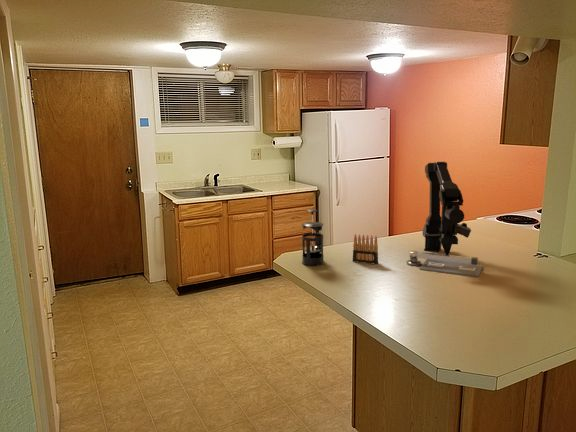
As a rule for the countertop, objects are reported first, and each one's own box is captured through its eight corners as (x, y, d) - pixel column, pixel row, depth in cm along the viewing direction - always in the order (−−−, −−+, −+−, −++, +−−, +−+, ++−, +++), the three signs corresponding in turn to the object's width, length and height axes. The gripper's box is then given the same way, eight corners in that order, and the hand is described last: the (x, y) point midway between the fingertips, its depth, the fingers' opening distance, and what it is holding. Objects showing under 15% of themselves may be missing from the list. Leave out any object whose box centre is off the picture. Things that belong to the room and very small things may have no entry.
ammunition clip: (352, 261, 200) (352, 234, 198) (353, 260, 202) (353, 233, 200) (377, 264, 196) (377, 236, 193) (378, 262, 198) (378, 235, 195)
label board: (419, 269, 188) (419, 267, 187) (427, 260, 200) (427, 258, 199) (478, 277, 177) (478, 275, 177) (482, 266, 190) (482, 264, 189)
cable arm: (408, 257, 194) (408, 252, 194) (410, 255, 197) (410, 250, 197) (476, 265, 182) (476, 259, 182) (477, 262, 185) (477, 257, 185)
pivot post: (404, 264, 194) (404, 258, 194) (408, 260, 199) (408, 254, 199) (419, 266, 191) (419, 260, 191) (422, 262, 197) (422, 256, 196)
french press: (317, 267, 193) (317, 213, 188) (297, 264, 198) (296, 211, 193) (329, 259, 203) (328, 207, 198) (309, 257, 208) (308, 206, 203)
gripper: (473, 223, 177) (470, 263, 180) (467, 214, 195) (465, 250, 198) (442, 222, 180) (440, 261, 183) (439, 213, 198) (438, 249, 201)
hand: (447, 255), depth 191 cm, fingers closed
